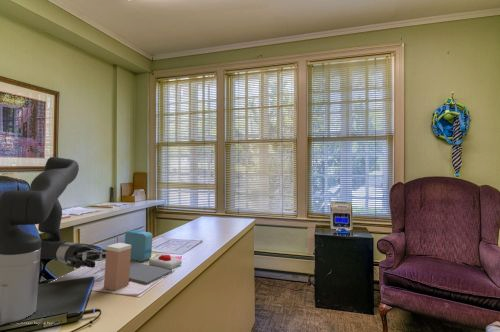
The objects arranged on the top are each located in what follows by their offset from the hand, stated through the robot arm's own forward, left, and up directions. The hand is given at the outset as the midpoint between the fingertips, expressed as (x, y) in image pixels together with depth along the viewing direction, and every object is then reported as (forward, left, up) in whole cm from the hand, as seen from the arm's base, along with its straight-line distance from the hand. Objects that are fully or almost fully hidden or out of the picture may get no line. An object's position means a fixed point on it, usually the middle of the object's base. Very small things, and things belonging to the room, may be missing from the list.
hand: (105, 261), depth 97 cm
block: (0, -6, -8) cm, 10 cm away
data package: (+26, +10, -8) cm, 29 cm away
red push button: (+27, -6, -8) cm, 28 cm away
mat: (+13, -4, -8) cm, 16 cm away
